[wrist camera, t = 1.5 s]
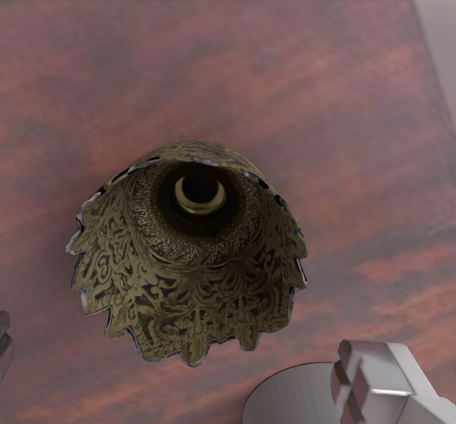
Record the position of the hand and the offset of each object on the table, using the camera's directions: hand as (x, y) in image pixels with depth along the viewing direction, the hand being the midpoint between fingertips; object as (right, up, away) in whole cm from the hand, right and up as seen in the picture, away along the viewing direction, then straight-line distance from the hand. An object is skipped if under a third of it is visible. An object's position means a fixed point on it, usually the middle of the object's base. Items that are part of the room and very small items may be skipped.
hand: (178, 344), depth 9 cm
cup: (0, +5, +10) cm, 11 cm away
